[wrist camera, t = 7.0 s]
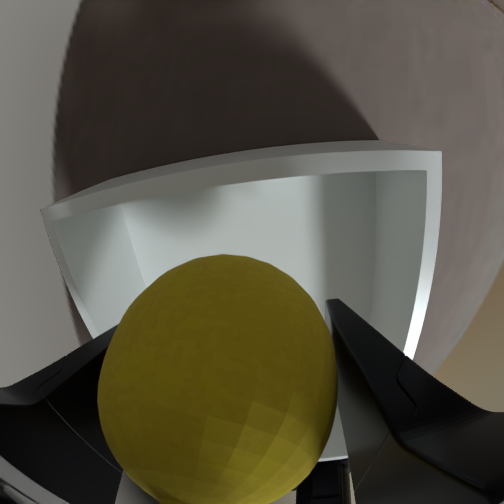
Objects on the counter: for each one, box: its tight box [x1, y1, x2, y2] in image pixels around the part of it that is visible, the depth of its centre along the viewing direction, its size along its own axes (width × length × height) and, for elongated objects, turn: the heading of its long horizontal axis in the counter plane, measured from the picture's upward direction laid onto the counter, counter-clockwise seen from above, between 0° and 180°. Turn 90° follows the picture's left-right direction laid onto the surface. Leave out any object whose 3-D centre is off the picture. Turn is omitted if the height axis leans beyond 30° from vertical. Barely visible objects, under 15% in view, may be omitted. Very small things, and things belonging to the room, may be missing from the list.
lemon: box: [97, 254, 338, 504], centre depth 6 cm, size 6×6×8 cm
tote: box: [41, 140, 442, 462], centre depth 12 cm, size 16×12×5 cm
